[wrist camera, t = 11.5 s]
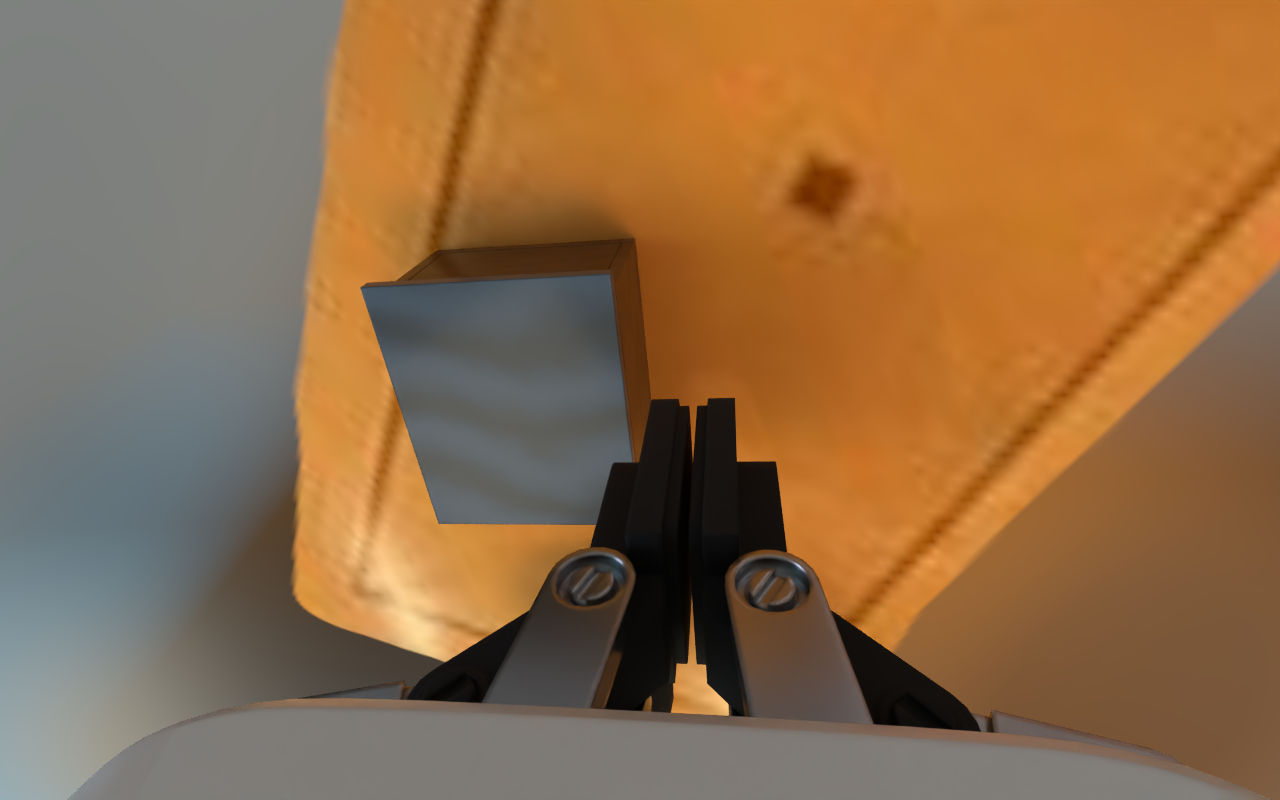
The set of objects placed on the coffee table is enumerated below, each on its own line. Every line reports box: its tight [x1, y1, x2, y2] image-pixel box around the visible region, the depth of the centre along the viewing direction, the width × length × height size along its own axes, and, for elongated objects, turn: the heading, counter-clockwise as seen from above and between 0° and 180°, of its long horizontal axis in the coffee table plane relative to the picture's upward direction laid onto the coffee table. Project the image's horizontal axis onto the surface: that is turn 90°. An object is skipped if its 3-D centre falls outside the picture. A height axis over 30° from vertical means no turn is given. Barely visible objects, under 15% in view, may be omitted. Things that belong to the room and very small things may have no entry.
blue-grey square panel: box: [361, 270, 635, 525], centre depth 37 cm, size 16×14×1 cm
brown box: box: [396, 239, 651, 462], centre depth 41 cm, size 16×14×9 cm
